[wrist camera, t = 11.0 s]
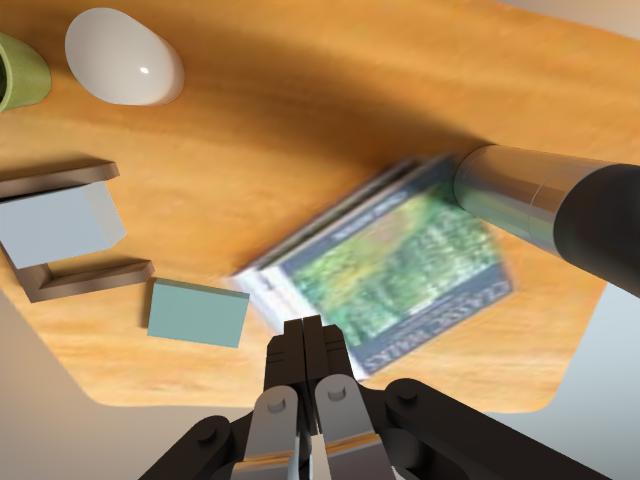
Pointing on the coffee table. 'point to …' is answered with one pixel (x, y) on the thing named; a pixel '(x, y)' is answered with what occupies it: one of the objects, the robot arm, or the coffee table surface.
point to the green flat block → (197, 313)
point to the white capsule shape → (122, 59)
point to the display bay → (39, 277)
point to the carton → (59, 224)
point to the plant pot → (21, 74)
